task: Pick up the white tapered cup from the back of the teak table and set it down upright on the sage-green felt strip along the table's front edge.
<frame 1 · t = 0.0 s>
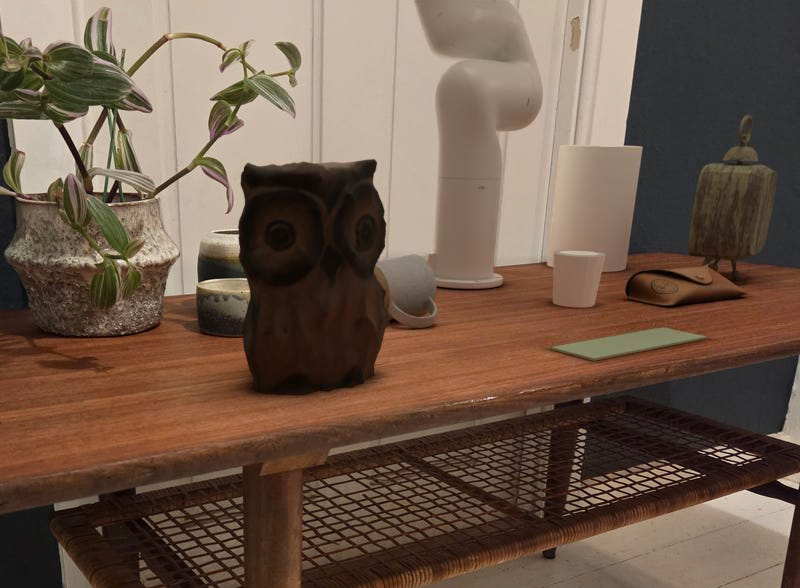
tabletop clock: (721, 280, 145), on the table
edge strip: (630, 344, 100), on the table
sunglasses case: (686, 299, 128), on the table
owl: (307, 377, 86), on the table
white tapered cup: (573, 305, 123), on the table
ceramic mug: (400, 321, 111), on the table
canister: (585, 267, 157), on the table
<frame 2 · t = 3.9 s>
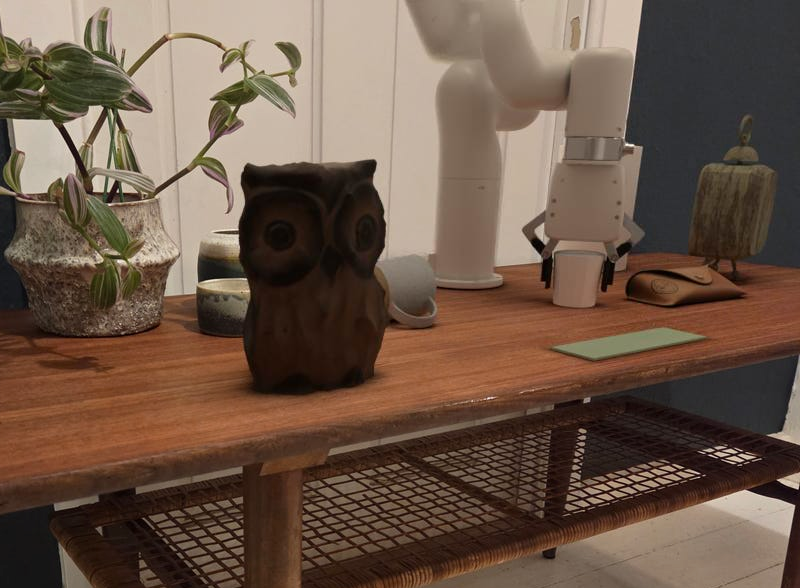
hand: (575, 287, 122), 2 cm above the table, tool pointing down, fingers closed on white tapered cup, 6 cm apart
white tapered cup: (573, 305, 123), on the table, touching gripper
everything else where it was.
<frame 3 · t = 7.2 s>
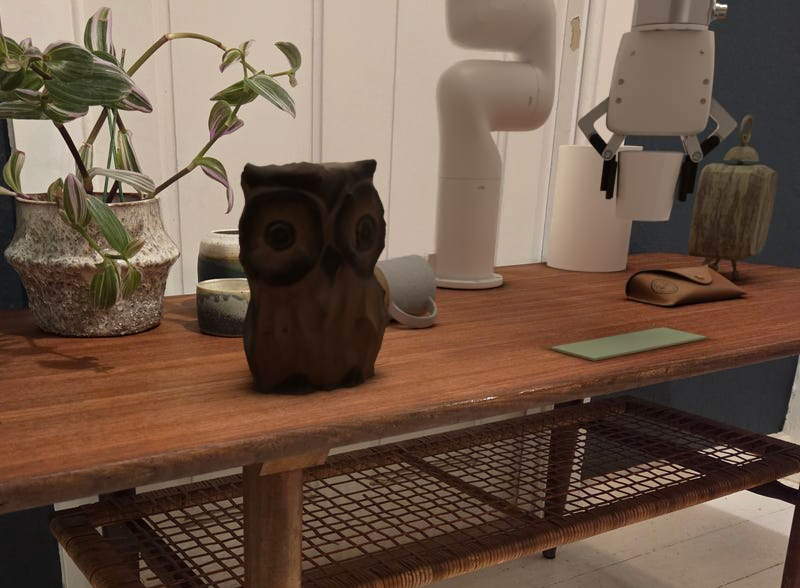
hand: (644, 198, 97), 16 cm above the table, tool pointing down, fingers closed on white tapered cup, 6 cm apart
white tapered cup: (641, 220, 98), point 13 cm above the table, touching gripper
everything else where it was.
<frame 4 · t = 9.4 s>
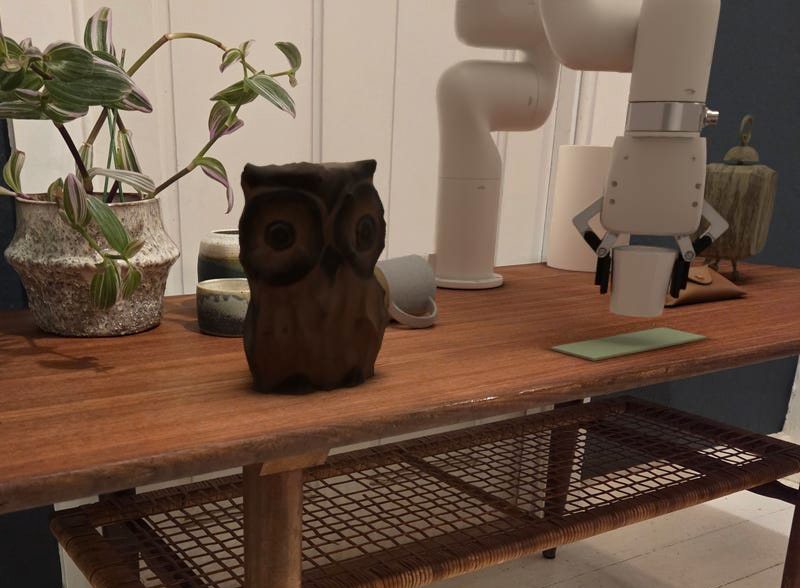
hand: (638, 293, 98), 6 cm above the table, tool pointing down, fingers closed on white tapered cup, 6 cm apart
white tapered cup: (635, 313, 99), point 3 cm above the table, touching gripper
everything else where it was.
when the fingers open (2 cm above the table, at t = 10.8 s): white tapered cup stays where it is, resting on edge strip.
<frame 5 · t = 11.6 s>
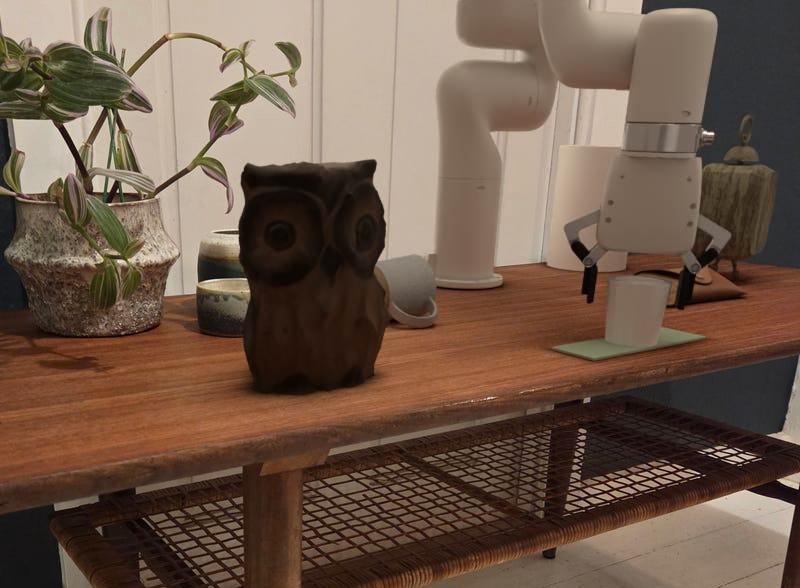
hand: (633, 304, 99), 4 cm above the table, tool pointing down, fingers open, 9 cm apart
white tapered cup: (630, 342, 101), resting on edge strip
everything else where it was.
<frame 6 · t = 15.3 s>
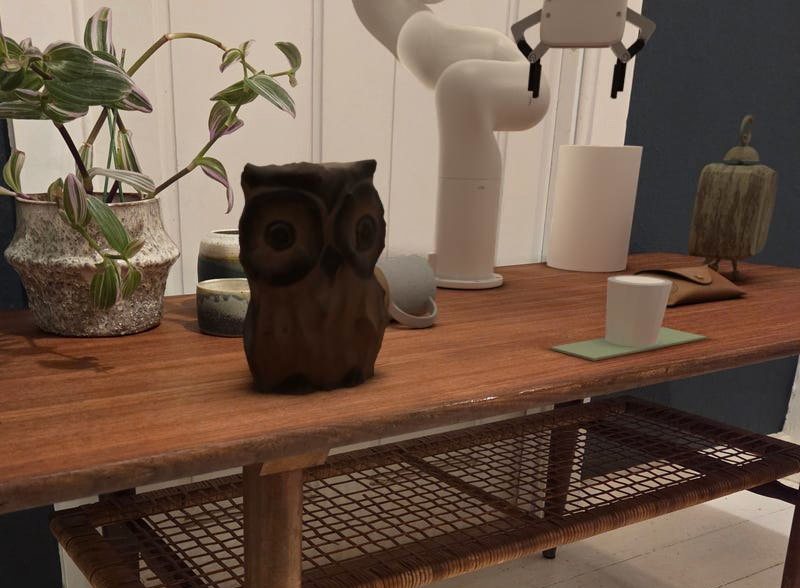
hand: (574, 98, 112), 26 cm above the table, tool pointing down, fingers open, 9 cm apart
nothing on the table moved.
at the end: white tapered cup 0.1 cm off-centre on the edge strip, point 0.1 cm above the edge strip's base; white tapered cup tilted 0°; white tapered cup moved 24.3 cm from its start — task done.
